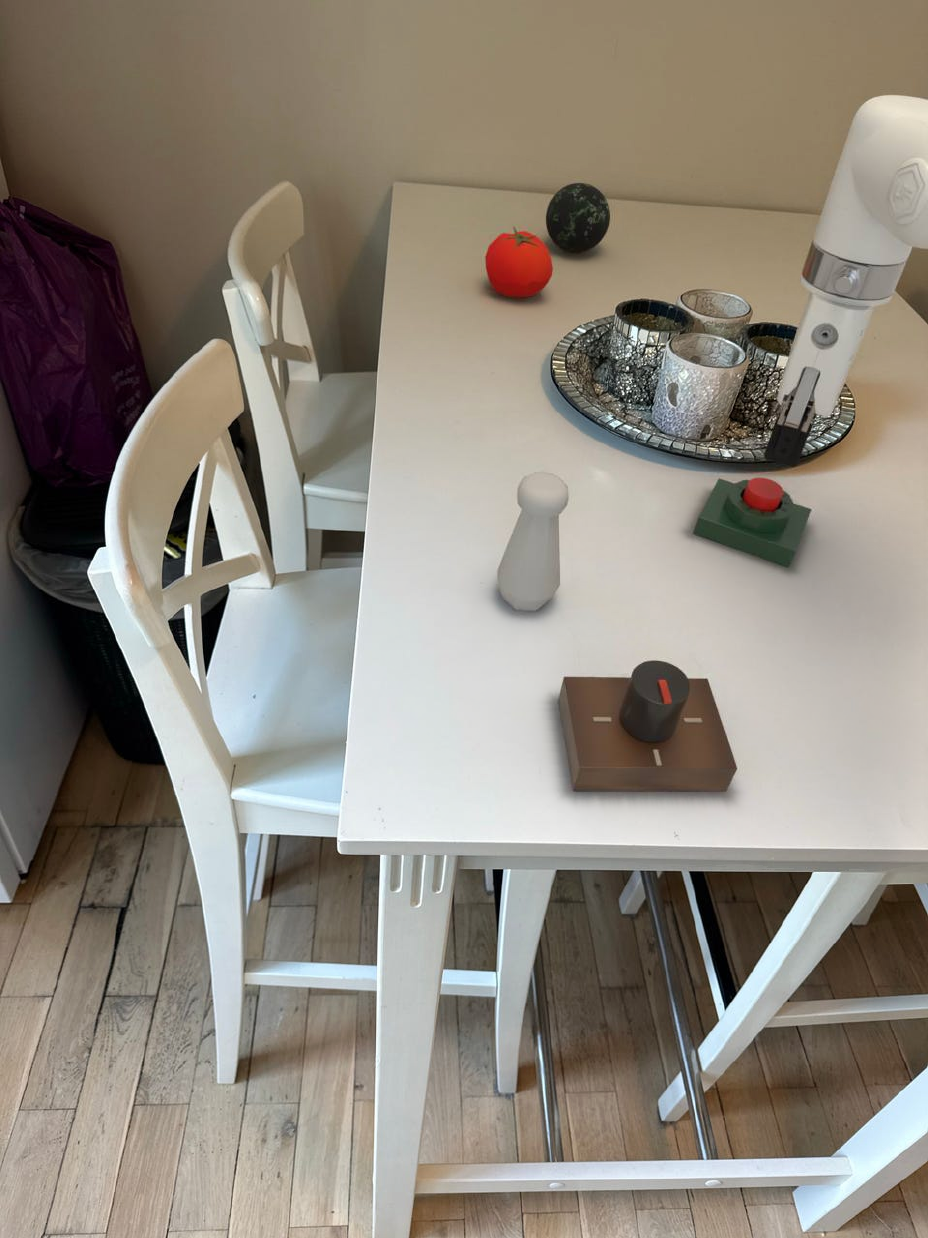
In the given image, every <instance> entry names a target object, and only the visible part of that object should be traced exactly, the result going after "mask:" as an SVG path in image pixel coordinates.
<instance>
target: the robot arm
mask: <svg viewBox="0 0 928 1238" xmlns="http://www.w3.org/2000/svg"><path fill="white" fill-rule="evenodd" d="M845 139H846V140H845V142H844V145H843V148H842V151H841V154H840V157H839V160H838V163H837V166H836V169H835V172H834V175H833V178H832V181H831V184H830V187H829V189H828V192H827V194H826V198H825V199H826V200H824V201H825V202H824V205H823V208H822V211H821V214H820V217H819V219H818V222H817V226H816V228H815V231H814V234H813V238H812V241H811V244H810V246H809V249H808V252H807V256H806V258H805V261H804V264H803V267H802V270H801V273H800V276H799V282H800V284H801V285H802V287H803V288H804V289H806V290H807V291H808V292H809V294H808V297H807V300H806V303H805V306H804V308H803V312H802V315H801V317H800V319H799V320H800V321H799V323H798V325H797V329H796V333H795V335H794V339H793V341H792V344H791V347H790V350H789V353H788V357H787V361H786V363H785V367H784V371H783V374H782V378H781V382H780V385H779V389H778V392H777V396H776V401H777V402H778V404H779V406H783V407H782V409H781V412H780V413H779V414H778V416H777V419H776V420H775V423H774V425H773V428H772V430H771V433H770V436H769V439H768V441H767V444H766V447H765V449H764V454H763V457H764V458H765V460H769V461H772V462H775V463H778V464H782V465H784V466H788V467H792V468H795V467H797V466H798V463H799V461H800V459H801V456H802V454H803V452H804V449H805V446H806V444H807V441H808V438H809V436H810V433H811V430H812V428H813V423H812V421H813V419H814V416H815V414H816V415H818V416H821V418H822V419H827V418H828V417H830V416H831V415H832V414H833V412H834V409H835V407H836V404H837V402H838V401H839V398H840V395H841V392H842V390H843V388H844V386H845V383H846V380H847V378H848V376H849V374H850V370H851V369H852V366H853V364H854V361H855V359H856V356H857V354H858V351H859V349H860V347H861V344H862V342H863V339H864V337H865V335H866V331H867V328H868V325H869V323H870V320H871V317H872V314H873V311H874V309H875V307H878V306H883V305H886V304H888V303H889V302H891V300H892V298H893V296H894V292H895V291H896V288H897V285H898V283H899V281H900V278H901V276H902V274H903V271H904V268H905V266H906V264H907V262H908V259H909V256H910V254H911V252H912V249H913V248H917V249H922V250H923V249H924V250H928V99H926V98H922V97H916V96H909V95H900V94H899V95H897V94H886V95H879V96H874V97H871V98H870V99H868V100H866V101H865V102H864V103H863V104H861V106H860V107H859V109H858V110H857V111H856V113H855V115H854V117H853V119H852V122H851V125H850V127H849V130H848V133H847V136H846V138H845Z"/></svg>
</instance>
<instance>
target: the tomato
mask: <svg viewBox="0 0 928 1238" xmlns="http://www.w3.org/2000/svg"><path fill="white" fill-rule="evenodd" d="M512 227H513V231H514V233H508V232H507V233H506V232H502V233H501V234H499V235H498V236H497V237H496V238H495V239H494V240H493V241H492V242H491V243H490V244H489V245H488V247H487V251H486V254H485V256H484V257H485V259H484V260H485V271H486V275H487V278H488V282H489V284H490V286H491V287H492V289H493V290H494V291H495V292H496V293H497V294H499V295H502V296H506V297H509V298H517V299H518V298H519V299H520V298H521V299H522V298H525V297H532V296H535V295H536V294H538V293H540V292H541V291H543V290H544V289H545V287H546V286H547V285H548V284H549V282H550V281H551V278H552V277H553V271H554V266H553V260H552V256H551V254H550V252H549V249H548V246H547V245H546V244H545V243H544V242H543V241H542V240H541V239H540V238H539V236H537V234H533V233H531V232H529V231H524V230H522V231H521V230H519V231H518V230H517V229H516V227H515V226H514V225H512Z"/></svg>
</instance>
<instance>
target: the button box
mask: <svg viewBox="0 0 928 1238" xmlns="http://www.w3.org/2000/svg"><path fill="white" fill-rule="evenodd" d="M750 480H751V479H742V480H740V481H737V482H731V481H729V480H725V479H722V478H718V479H717V481H716V483H715V485H714V486H713V488H712V490H711V492H710V494H709V496H708V498H707V500H706V502H705V503H704V506H703V508H702V510H701V511H700V513H699V515H698V517H697V519H696V522H695V526H694V529H693V532H692V533H693V535H696V536H699V537H702V538H705V539H706V540H707V539H708V540H710V541H713V542H715V543H719V544H722V545H724V546H727V547H730V548H733V549H735V550H739V551H741V552H744V553H746V554H750V555H752V556H755V557H759V558H761V559H764V560H766V561H770V562H772V563H775V564H777V565H780V566H784V567H786V568H790V566H791V564H792V561H793V560H794V557H795V555H796V553H797V550H798V548H799V544H800V542H801V540H802V538H803V537H802V536H803V534H804V532H805V529H806V527H807V523H808V520H809V518H810V515H811V513H812V508H809V507H806V506H803V505H800V504H797V503H795V502H794V501H793V499H792V497H791V495H790V494H789V493H788V492H787V491H786V490H783V491H784V493H783V496H782V498H781V501H780V503H779V506H778V508H777V509H776V510H775V511H773V512H769V511H760V510H757V509H754V508H751V507H750V506H748V505H747V504H746V503H744V502H743V495H744V492H745V489H746V486H747V484H748V482H749V481H750Z"/></svg>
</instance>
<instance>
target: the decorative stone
mask: <svg viewBox="0 0 928 1238" xmlns="http://www.w3.org/2000/svg"><path fill="white" fill-rule="evenodd" d="M610 223H611V211H610V206H609V203H608V201H607V198H606V197H605V195H604V194H603V193H602V192H601V190H599V189H598V188H596V186H594V185H593V184H589V183H585V182H574V183H570V184H567V185H565V186H563V187H561V188H560V189H559V190H558V191H557V192H556V193H555V194H554V195H553V196H552V198H551V199H550V201H549V203H548V205H547V208H546V212H545V226H546V231H547V234H548V236H549V238H550V240H551V241H552V242H553V244H554V245H555V246H556V247H558V248H559V249H560V250H562V251H564V252H567V253H571V254H581V253H586V252H589V251H590V250H593V249H594V248H595V247H596V246H598V245H599V244H600V243H601V242H602V240H604V238H605V236H606V235H607V233H608V230H609V227H610Z"/></svg>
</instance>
